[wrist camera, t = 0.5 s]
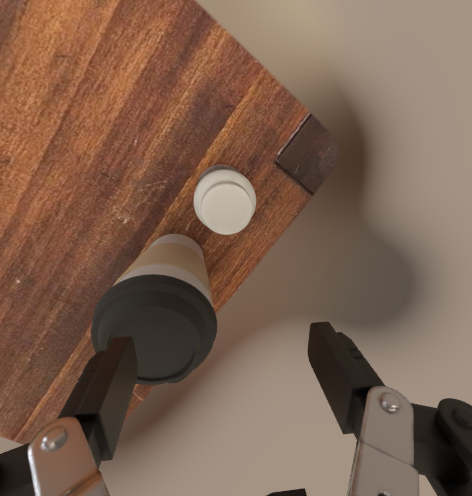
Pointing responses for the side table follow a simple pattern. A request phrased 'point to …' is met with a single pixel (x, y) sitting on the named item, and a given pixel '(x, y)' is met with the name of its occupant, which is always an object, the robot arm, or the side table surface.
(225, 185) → the pill bottle
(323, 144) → the side table surface
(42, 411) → the side table surface
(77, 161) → the side table surface
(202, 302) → the coffee cup
